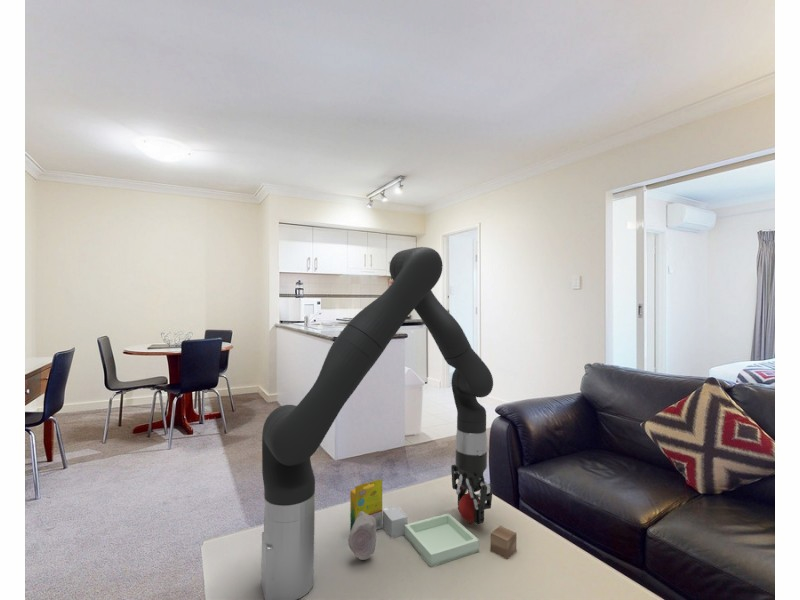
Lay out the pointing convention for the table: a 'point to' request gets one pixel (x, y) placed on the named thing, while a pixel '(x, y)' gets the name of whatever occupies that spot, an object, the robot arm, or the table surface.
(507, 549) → the walnut block
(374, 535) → the fossil
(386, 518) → the grey block
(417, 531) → the dish
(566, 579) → the table surface
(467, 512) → the onion
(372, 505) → the crayon box
